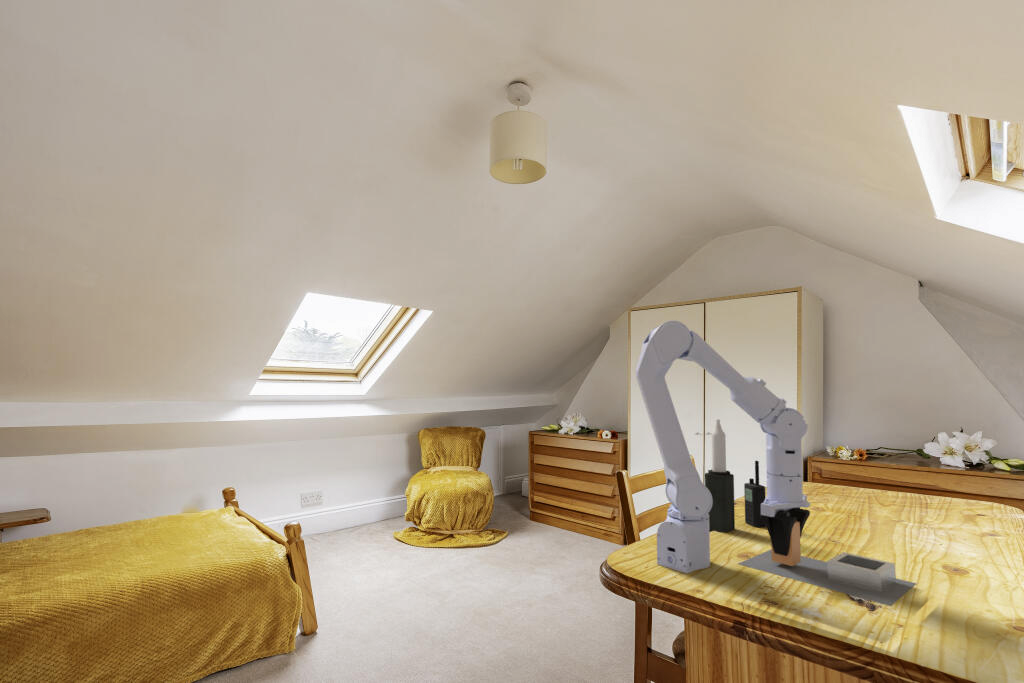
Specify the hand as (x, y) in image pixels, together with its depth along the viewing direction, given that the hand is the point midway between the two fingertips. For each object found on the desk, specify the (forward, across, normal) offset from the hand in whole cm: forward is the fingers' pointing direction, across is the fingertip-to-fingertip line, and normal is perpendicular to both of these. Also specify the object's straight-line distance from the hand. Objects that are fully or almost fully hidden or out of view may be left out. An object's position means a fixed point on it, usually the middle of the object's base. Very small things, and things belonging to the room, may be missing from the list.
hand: (786, 552), depth 94 cm
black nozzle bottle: (+3, +14, +20) cm, 25 cm away
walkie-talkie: (+3, +27, +18) cm, 33 cm away
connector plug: (+2, 0, 0) cm, 2 cm away
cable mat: (+3, +1, -6) cm, 6 cm away
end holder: (+3, +2, -11) cm, 12 cm away
